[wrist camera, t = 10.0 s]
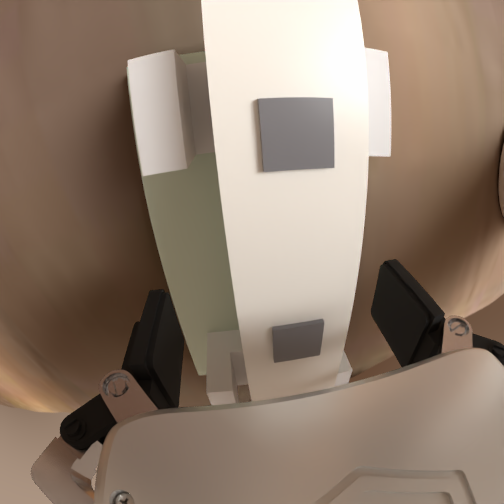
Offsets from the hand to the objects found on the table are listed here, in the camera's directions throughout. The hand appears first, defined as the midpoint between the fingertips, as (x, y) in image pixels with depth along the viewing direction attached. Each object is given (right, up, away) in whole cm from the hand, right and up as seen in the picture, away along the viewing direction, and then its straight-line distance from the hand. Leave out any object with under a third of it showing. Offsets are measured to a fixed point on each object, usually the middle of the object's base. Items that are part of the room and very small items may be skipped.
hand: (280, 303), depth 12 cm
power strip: (0, +1, +2) cm, 3 cm away
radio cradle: (-1, +3, +6) cm, 6 cm away
